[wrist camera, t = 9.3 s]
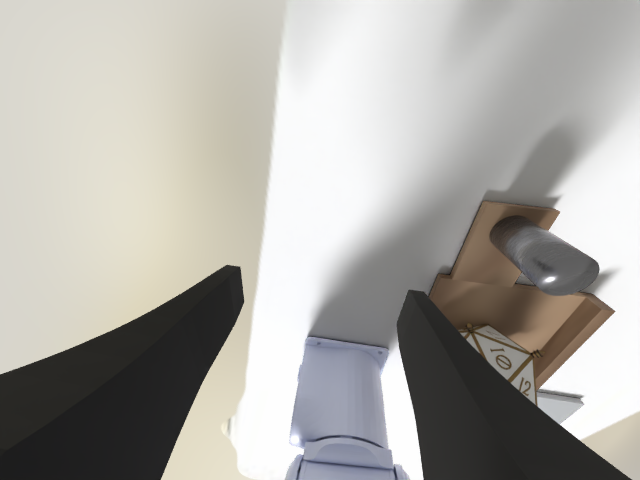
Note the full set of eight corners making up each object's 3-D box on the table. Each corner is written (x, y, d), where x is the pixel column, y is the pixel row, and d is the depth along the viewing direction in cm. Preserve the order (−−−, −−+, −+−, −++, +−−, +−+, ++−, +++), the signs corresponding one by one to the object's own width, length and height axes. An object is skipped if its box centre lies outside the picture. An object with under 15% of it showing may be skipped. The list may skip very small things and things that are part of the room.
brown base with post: (403, 356, 27) (416, 415, 22) (469, 199, 17) (520, 237, 12) (521, 374, 26) (564, 440, 21) (657, 220, 17) (797, 270, 11)
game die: (440, 317, 28) (420, 408, 24) (435, 284, 22) (406, 397, 18) (540, 345, 23) (537, 468, 19) (567, 313, 17) (572, 480, 13)
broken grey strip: (424, 402, 31) (426, 407, 31) (440, 376, 28) (441, 381, 28) (550, 423, 30) (554, 428, 30) (579, 398, 27) (584, 404, 27)
